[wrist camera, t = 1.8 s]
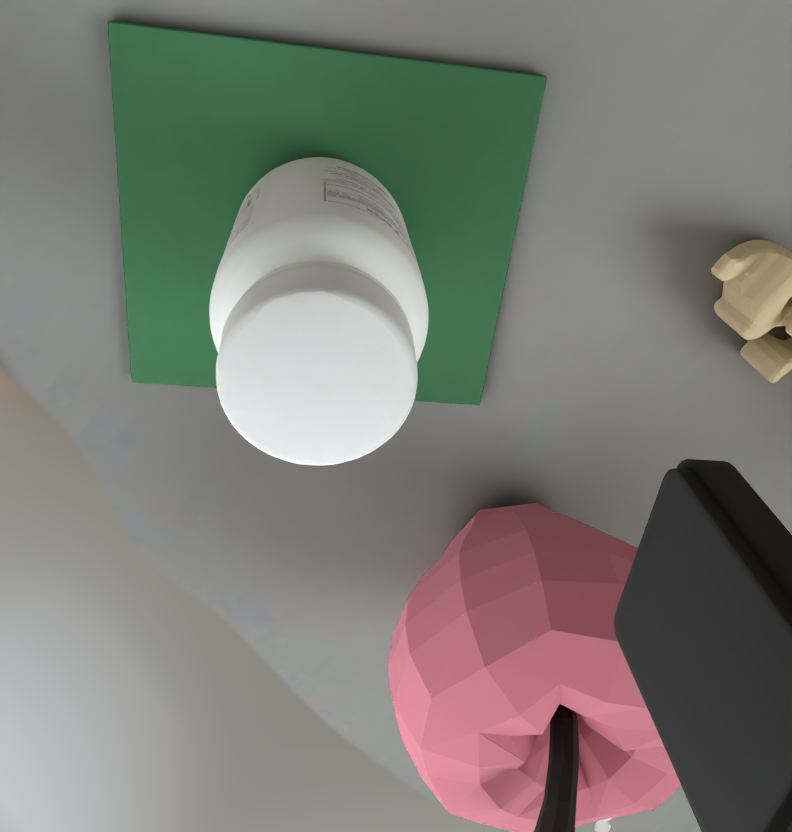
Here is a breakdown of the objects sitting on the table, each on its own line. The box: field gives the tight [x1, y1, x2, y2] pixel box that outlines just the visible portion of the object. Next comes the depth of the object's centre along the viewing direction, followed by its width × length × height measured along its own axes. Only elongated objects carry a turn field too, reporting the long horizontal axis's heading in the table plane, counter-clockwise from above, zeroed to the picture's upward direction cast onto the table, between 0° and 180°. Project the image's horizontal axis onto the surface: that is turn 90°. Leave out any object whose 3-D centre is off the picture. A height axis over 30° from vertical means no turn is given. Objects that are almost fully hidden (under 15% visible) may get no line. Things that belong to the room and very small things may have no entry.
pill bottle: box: [209, 157, 429, 466], centre depth 16 cm, size 4×4×8 cm
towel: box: [108, 21, 547, 405], centre depth 19 cm, size 10×9×1 cm
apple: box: [388, 503, 681, 832], centre depth 21 cm, size 10×9×10 cm
